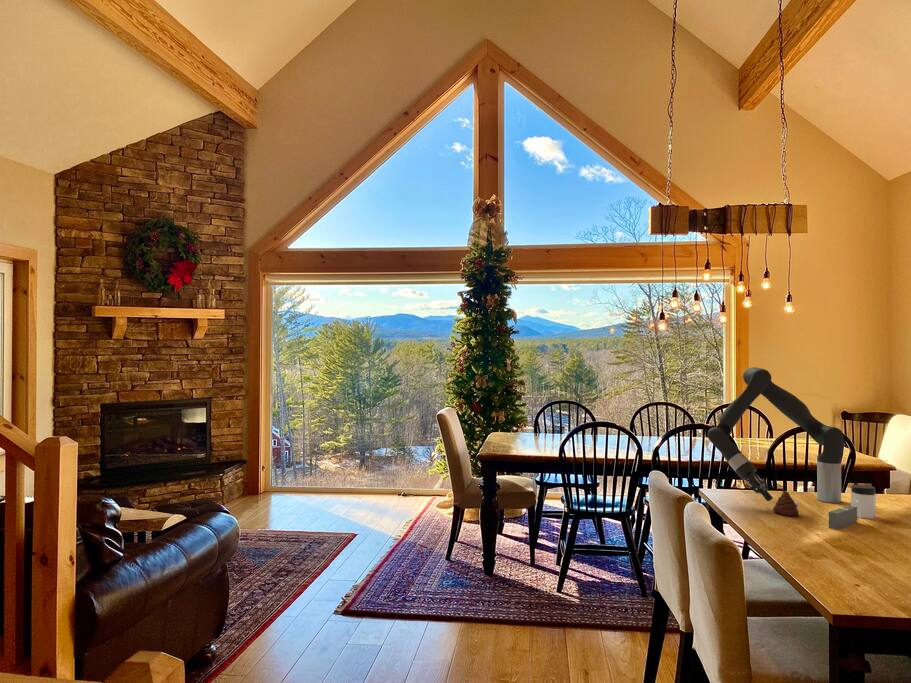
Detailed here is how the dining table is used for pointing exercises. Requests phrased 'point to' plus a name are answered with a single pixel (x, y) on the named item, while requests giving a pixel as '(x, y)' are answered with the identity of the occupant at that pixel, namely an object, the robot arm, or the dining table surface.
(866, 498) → the jar
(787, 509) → the poop emoji
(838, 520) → the rail
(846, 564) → the dining table surface
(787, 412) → the robot arm
